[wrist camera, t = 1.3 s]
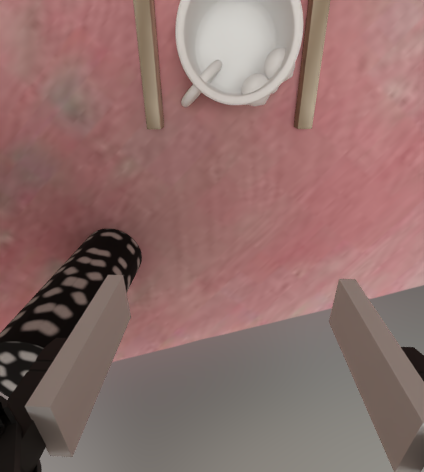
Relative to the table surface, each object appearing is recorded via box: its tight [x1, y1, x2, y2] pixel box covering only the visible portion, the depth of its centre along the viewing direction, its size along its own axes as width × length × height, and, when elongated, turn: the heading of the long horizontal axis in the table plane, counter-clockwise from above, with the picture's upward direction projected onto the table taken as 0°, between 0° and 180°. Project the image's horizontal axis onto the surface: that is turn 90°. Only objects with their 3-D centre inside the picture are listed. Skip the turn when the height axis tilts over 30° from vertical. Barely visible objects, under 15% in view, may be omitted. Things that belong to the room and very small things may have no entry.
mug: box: [175, 0, 303, 107], centre depth 26 cm, size 12×10×9 cm
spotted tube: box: [0, 229, 142, 397], centre depth 33 cm, size 8×8×20 cm
